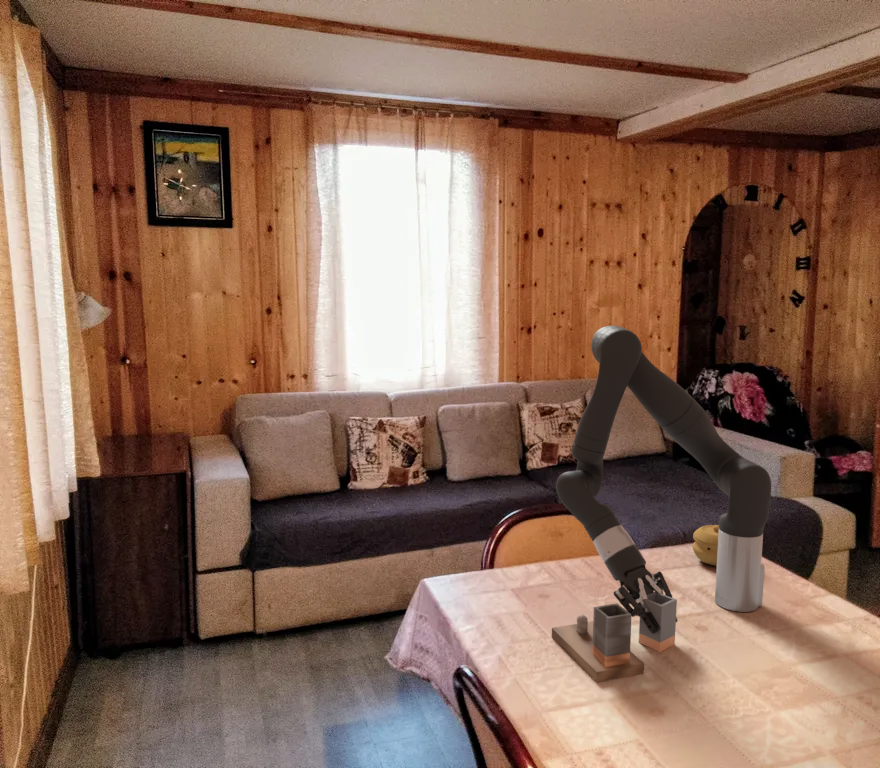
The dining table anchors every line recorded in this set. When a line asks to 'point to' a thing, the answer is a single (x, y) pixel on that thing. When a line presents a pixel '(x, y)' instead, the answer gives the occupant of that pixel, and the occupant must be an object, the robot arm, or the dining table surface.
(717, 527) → the pot
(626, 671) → the pin board
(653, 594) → the sleeve
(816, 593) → the dining table surface
